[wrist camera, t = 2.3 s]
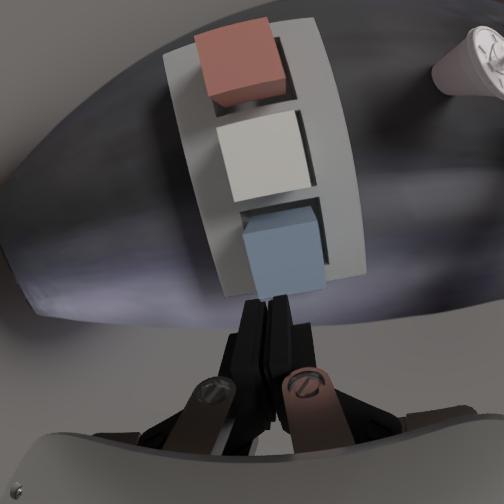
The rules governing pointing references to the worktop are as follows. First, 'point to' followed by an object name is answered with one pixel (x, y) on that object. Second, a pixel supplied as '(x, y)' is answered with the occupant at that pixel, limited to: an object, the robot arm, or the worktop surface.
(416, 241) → the worktop surface
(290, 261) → the blue key
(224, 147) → the white key
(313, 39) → the keypad housing
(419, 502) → the robot arm
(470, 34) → the smoothie
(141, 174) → the worktop surface
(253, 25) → the red key
